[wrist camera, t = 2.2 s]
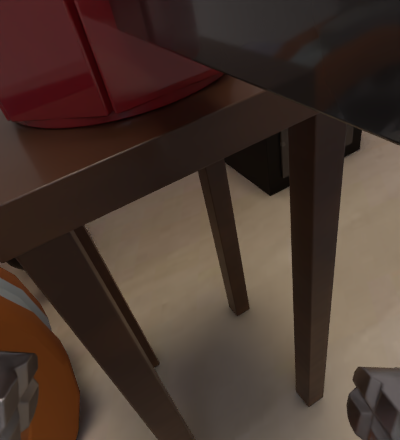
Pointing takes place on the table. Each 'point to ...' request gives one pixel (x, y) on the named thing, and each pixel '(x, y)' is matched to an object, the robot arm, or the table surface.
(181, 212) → the table surface
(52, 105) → the saucepan
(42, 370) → the alarm clock
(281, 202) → the table surface
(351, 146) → the stove
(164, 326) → the table surface
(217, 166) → the plant stand
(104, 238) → the table surface
